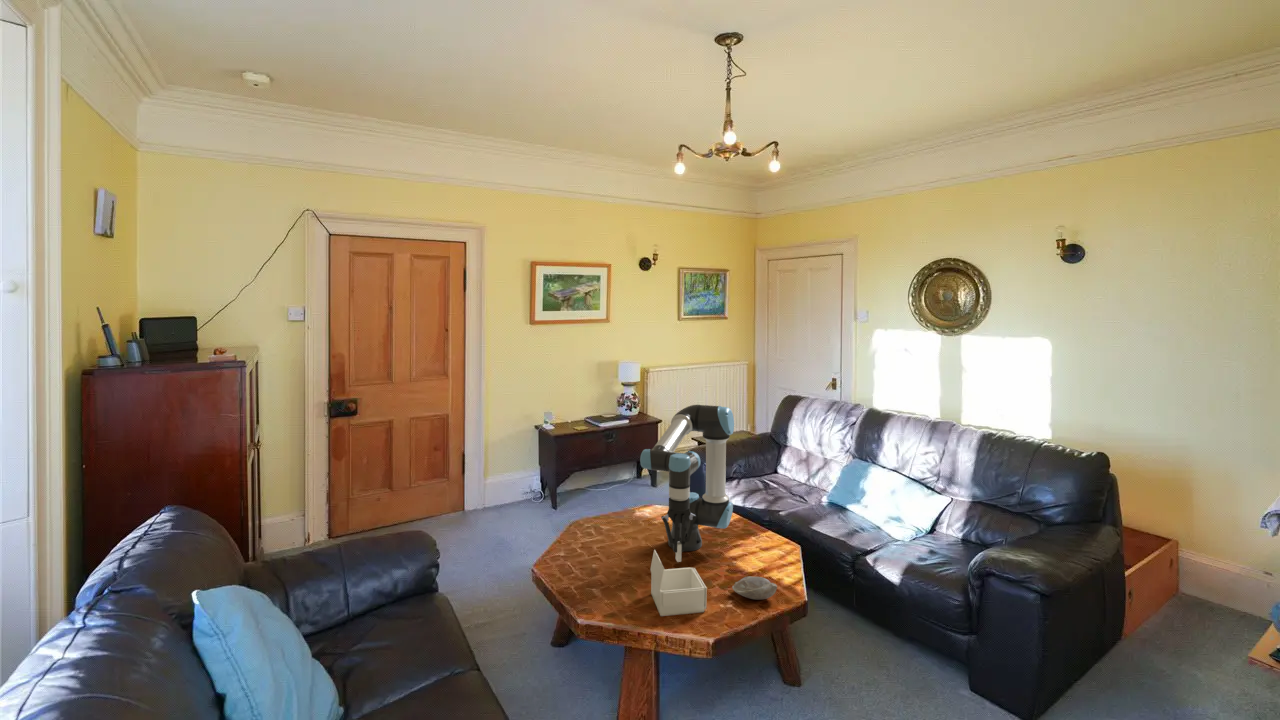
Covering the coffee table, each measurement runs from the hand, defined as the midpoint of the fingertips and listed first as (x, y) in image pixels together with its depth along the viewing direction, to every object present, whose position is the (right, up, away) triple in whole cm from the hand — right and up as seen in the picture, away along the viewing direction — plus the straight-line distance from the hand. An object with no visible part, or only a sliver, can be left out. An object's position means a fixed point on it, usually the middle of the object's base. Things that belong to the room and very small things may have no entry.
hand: (678, 560), depth 217 cm
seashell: (+28, -16, +6) cm, 33 cm away
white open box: (0, -16, +2) cm, 16 cm away
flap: (-8, -3, -1) cm, 8 cm away
